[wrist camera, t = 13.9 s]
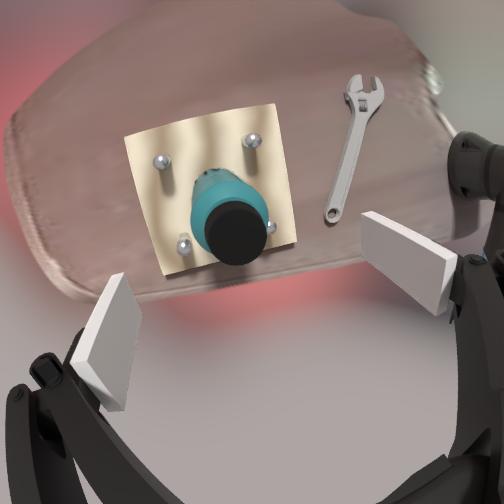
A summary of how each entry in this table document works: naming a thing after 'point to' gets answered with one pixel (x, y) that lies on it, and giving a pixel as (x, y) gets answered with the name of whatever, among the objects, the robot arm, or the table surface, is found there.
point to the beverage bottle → (228, 217)
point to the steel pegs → (184, 238)
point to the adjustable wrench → (352, 140)
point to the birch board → (201, 159)
